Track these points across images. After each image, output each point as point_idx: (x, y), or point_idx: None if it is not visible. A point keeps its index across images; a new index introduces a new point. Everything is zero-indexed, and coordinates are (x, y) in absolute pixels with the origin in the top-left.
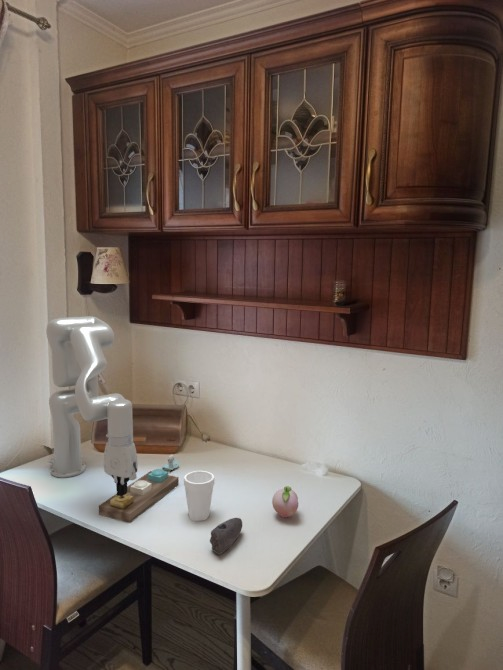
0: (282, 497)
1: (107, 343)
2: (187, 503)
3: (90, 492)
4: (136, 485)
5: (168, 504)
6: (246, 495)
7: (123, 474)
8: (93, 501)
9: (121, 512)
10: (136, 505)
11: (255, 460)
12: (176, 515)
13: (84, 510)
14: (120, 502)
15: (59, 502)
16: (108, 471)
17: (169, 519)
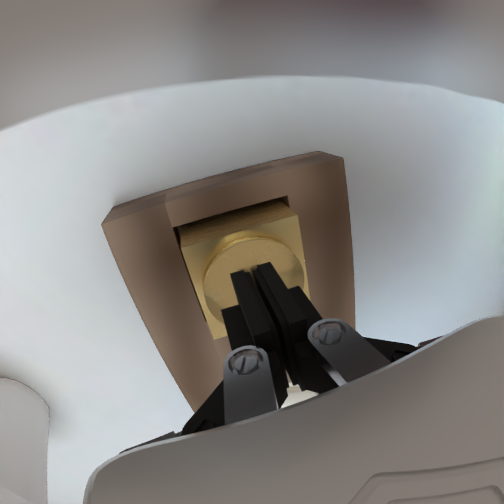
0: None
1: None
2: (11, 422)
3: (455, 246)
4: (289, 397)
5: (143, 398)
6: (68, 487)
7: (165, 490)
8: (414, 213)
9: (162, 203)
10: (162, 307)
11: None
12: (51, 370)
13: (395, 137)
14: (208, 241)
15: (486, 132)
16: (476, 357)
17: (38, 341)
